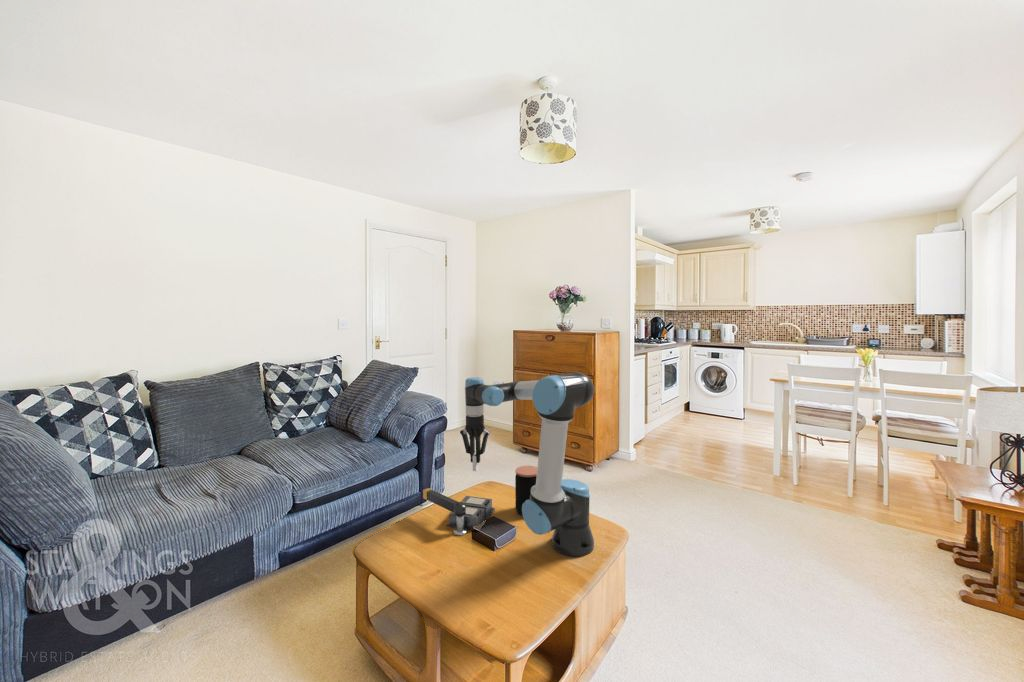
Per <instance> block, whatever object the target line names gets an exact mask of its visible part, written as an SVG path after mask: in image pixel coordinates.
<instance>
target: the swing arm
mask: <svg viewBox="0 0 1024 682" xmlns="http://www.w3.org/2000/svg"><path fill="white" fill-rule="evenodd" d="M422 494H423V495H422V497H423V499H424V500H426V501H429V502H430V503H433V504H435V505H437V506H439V507H441V508H444V509H445V510H448V511H450V513H451V512H453V513H454V515H456V516H463V515H465V514H466V504H465V503H464V502H461V501H458V500H455V499H453V498H451V497H449V496H446V495H444V494H443V493H439V492H438V491H436V490H433V489H432V488H429V487H428V488H424V489H423V490H422Z"/></svg>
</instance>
